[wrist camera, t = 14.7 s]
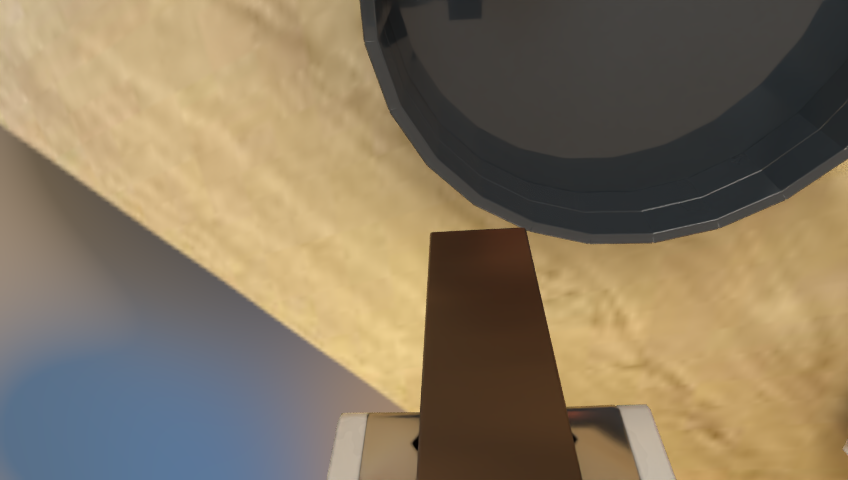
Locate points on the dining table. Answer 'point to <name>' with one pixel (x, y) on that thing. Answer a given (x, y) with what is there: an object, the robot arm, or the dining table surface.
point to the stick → (489, 366)
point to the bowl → (617, 106)
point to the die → (846, 447)
